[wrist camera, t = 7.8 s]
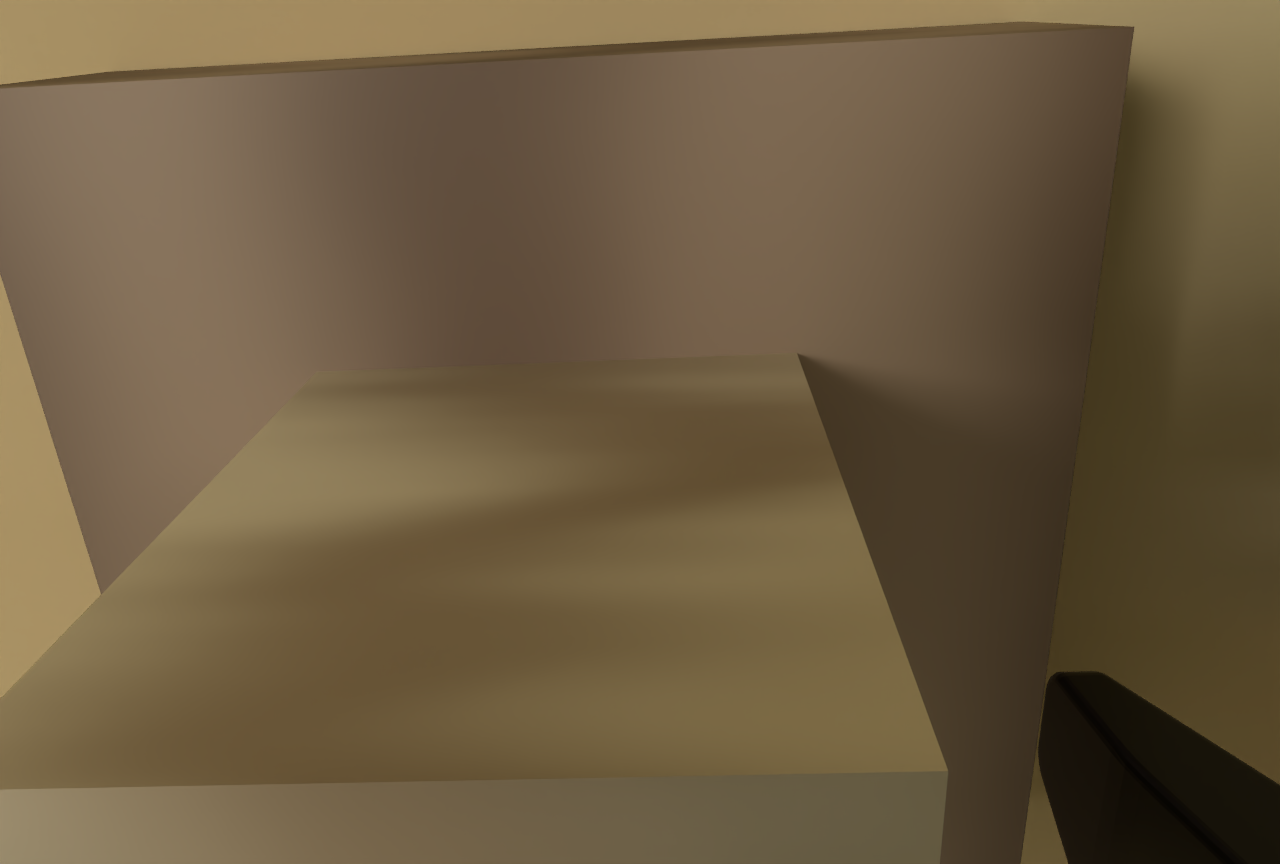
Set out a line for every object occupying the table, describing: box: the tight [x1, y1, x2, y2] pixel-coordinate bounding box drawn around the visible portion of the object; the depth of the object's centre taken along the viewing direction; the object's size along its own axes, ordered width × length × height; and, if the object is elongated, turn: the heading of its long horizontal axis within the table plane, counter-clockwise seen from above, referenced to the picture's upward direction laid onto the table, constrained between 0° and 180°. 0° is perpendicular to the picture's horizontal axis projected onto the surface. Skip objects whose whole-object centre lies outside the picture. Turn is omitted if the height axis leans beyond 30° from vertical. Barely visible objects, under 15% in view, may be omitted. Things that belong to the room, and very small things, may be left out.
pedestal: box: [0, 22, 1134, 864], centre depth 13 cm, size 11×11×3 cm
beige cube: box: [0, 353, 948, 864], centre depth 8 cm, size 5×5×6 cm
